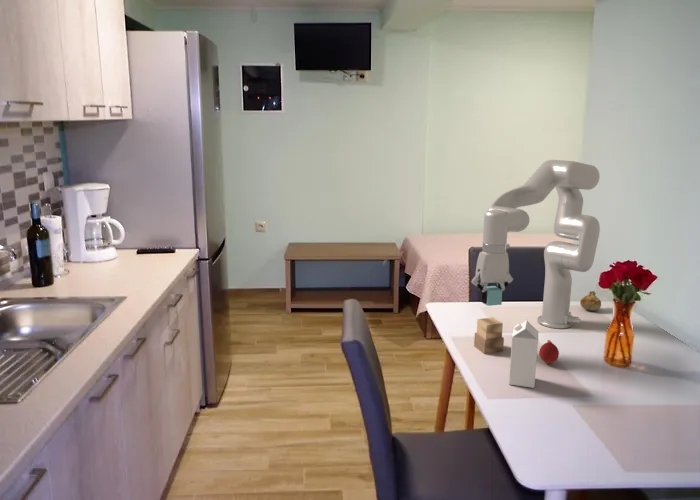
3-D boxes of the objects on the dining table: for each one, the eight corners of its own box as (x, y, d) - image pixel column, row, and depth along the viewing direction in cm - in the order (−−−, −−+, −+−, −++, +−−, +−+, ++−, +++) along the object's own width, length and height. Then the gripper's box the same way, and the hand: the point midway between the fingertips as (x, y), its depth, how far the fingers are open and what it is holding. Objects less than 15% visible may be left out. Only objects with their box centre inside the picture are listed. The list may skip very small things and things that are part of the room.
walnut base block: (492, 344, 194) (493, 330, 193) (503, 352, 188) (503, 338, 187) (474, 346, 192) (474, 332, 191) (484, 354, 186) (485, 340, 185)
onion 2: (575, 307, 232) (577, 289, 230) (594, 307, 232) (596, 288, 231) (585, 313, 224) (587, 294, 222) (604, 313, 225) (606, 294, 223)
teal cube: (493, 300, 189) (494, 285, 188) (501, 304, 184) (502, 290, 183) (480, 301, 188) (481, 286, 187) (487, 305, 183) (488, 291, 182)
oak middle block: (492, 331, 193) (493, 317, 192) (501, 337, 187) (502, 323, 186) (476, 333, 191) (477, 319, 190) (485, 339, 185) (486, 325, 184)
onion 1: (558, 362, 180) (560, 338, 178) (556, 369, 175) (558, 344, 173) (539, 358, 182) (541, 335, 180) (537, 365, 177) (539, 342, 175)
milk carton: (534, 378, 168) (539, 318, 164) (534, 388, 162) (539, 326, 157) (510, 374, 171) (514, 315, 166) (508, 385, 164) (512, 323, 160)
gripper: (511, 244, 188) (507, 296, 192) (465, 247, 183) (462, 300, 187) (523, 249, 181) (519, 303, 185) (475, 252, 176) (472, 307, 180)
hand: (490, 301), depth 186 cm, fingers closed on teal cube, 4 cm apart
